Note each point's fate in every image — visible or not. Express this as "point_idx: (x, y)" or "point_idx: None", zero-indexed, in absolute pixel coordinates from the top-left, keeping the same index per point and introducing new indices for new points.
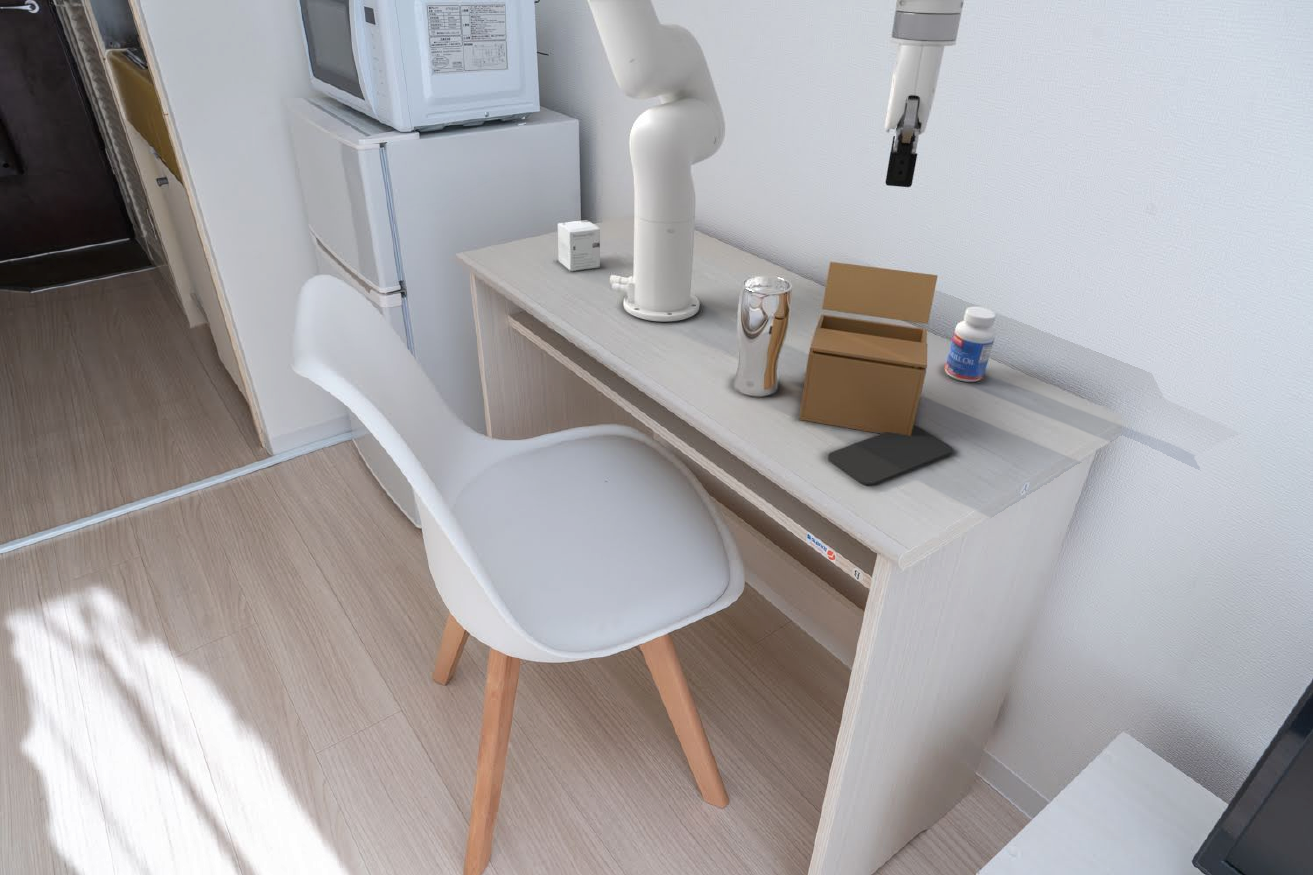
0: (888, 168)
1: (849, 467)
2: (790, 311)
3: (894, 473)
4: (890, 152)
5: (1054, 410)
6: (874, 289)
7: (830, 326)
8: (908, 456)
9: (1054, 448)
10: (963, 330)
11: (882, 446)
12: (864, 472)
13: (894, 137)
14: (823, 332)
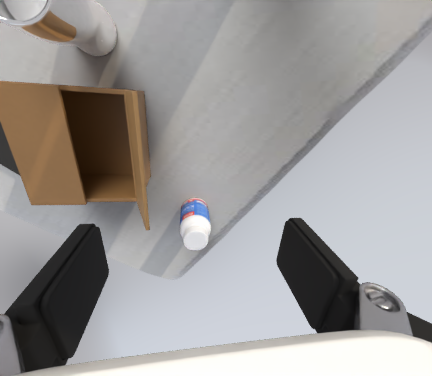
0: (54, 255)
1: None
2: (45, 39)
3: (6, 166)
4: (14, 304)
5: (162, 253)
6: (135, 157)
7: None
8: None
9: (111, 251)
10: (186, 223)
11: None
12: None
13: (342, 280)
14: (46, 96)
